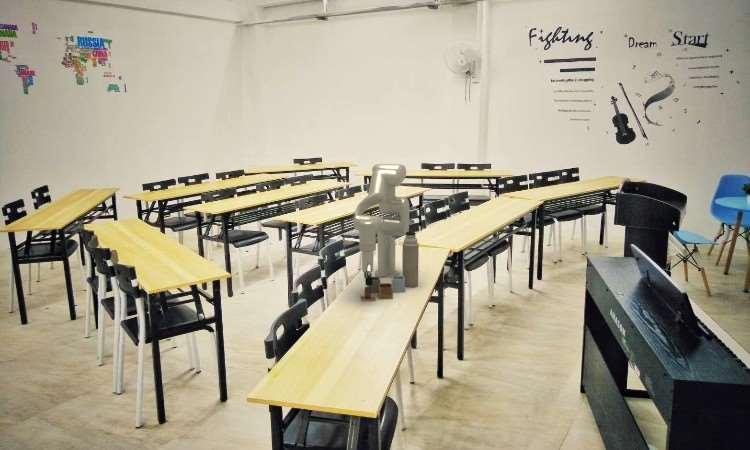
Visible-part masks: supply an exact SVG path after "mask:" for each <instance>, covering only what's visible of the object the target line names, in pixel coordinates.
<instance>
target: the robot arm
mask: <svg viewBox="0 0 750 450" xmlns="http://www.w3.org/2000/svg"><path fill="white" fill-rule="evenodd" d="M371 173H372V174H371V177H370V182H369V186H368V187H369V188H368V194H367V196H366V197H364V198H363V199H362V200H361V201H359V204H358V205H357V206H356V208H355V211H354V216H353V228H354V230H355V231H358V236H359V238H358V239H359V242H358V243H359V251H361V270H362V272H363V278H364V279H365V283H364V284H365V286H367V285H372V284H373V283H372V277H373V273H372V272H374V252H375V251H376V250H377V270H375V272H374V276H379V277H380V278H383V279H384V278H385V279H387V278H391V276H399V271H398V270H397V269H396V241H395V238H394V237H393V236H400V237H402V236H405V237H406V232H410V201H409V199H408V198H407V197H406V196H396V187H399V186H401V185H402V183H403V182H404V181H405V179H406V177H407V169H406V166H405V165H404V164H397V163H395V164H394V163H378V164H377V163H376V164H373V166H372V171H371ZM376 205H378V209H379V212H380V214H383V215H393V216H377V215H363V214H364V212H365V211H366V210H368V209H370V208H372V207H375V206H376ZM395 216H396V217H395ZM397 216H399V217H397ZM376 238H377V239H376ZM376 241H377V242H376ZM376 243H377V244H376Z"/></svg>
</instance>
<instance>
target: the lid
mask: <svg viewBox="0 0 750 450" xmlns="http://www.w3.org/2000/svg"><path fill="white" fill-rule="evenodd" d="M359 297H360V302H376V301H377V299H376V295H375V294H372V293H371V287H367V286H365V287H364V295H361V294H360V295H359Z"/></svg>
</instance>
